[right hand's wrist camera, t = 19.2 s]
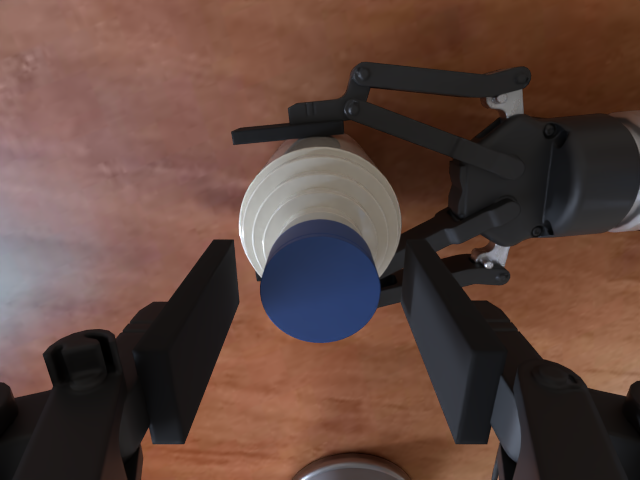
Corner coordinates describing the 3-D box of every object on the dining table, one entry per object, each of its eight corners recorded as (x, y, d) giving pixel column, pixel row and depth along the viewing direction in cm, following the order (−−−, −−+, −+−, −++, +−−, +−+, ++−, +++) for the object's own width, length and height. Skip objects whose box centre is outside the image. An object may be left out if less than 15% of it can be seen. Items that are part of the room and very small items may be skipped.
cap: (318, 196, 14) (318, 210, 12) (395, 267, 15) (405, 291, 13) (245, 270, 15) (234, 294, 13) (321, 332, 16) (321, 362, 14)
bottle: (371, 225, 31) (429, 372, 15) (274, 230, 32) (222, 381, 15) (371, 123, 28) (443, 164, 12) (263, 129, 29) (185, 177, 12)
